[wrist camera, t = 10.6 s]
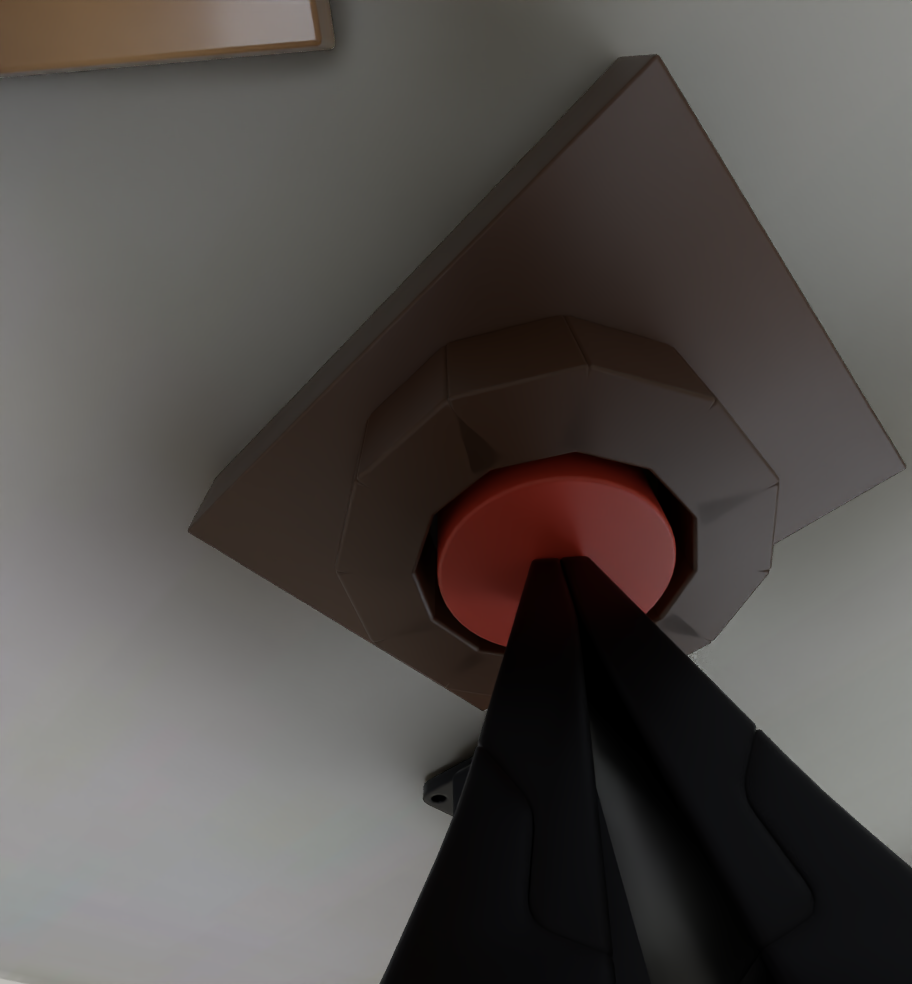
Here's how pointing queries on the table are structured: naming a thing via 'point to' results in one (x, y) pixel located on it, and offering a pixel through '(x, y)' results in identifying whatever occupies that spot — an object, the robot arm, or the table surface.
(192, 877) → the table surface
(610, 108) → the button box
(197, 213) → the table surface
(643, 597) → the red button
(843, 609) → the table surface
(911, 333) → the table surface
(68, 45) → the switch bracket
